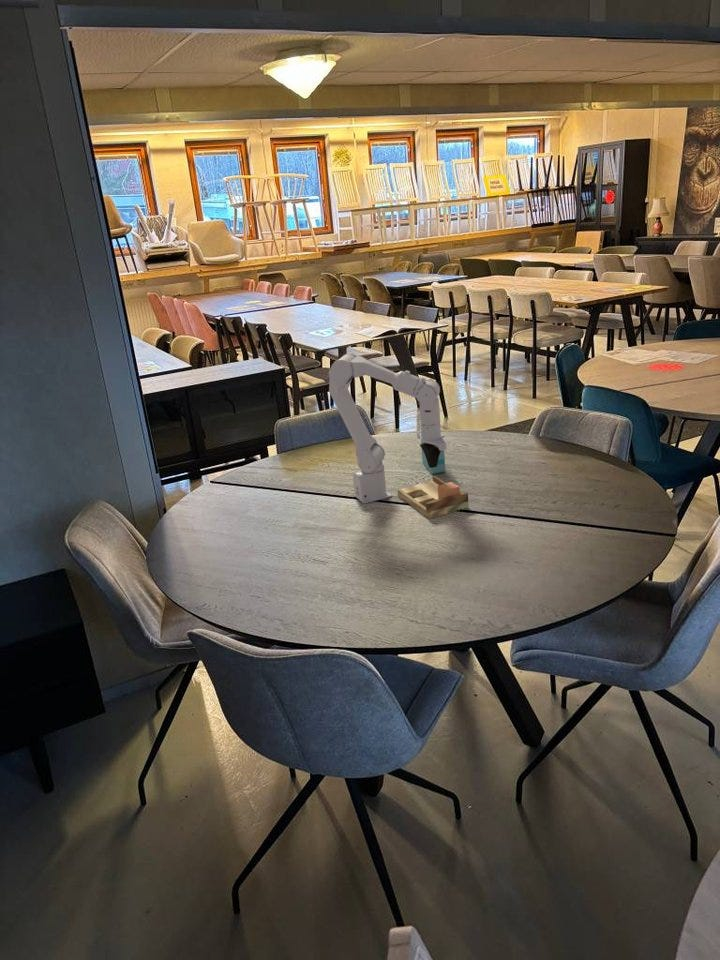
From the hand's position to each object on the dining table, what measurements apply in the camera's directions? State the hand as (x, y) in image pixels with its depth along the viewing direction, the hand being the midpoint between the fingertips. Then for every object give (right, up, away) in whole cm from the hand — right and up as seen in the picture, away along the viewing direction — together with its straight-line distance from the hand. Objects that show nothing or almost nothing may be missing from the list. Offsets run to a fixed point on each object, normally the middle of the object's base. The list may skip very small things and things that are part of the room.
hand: (432, 466), depth 199 cm
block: (+4, -10, -5) cm, 12 cm away
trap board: (0, -10, +1) cm, 10 cm away
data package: (+3, 0, +26) cm, 26 cm away
